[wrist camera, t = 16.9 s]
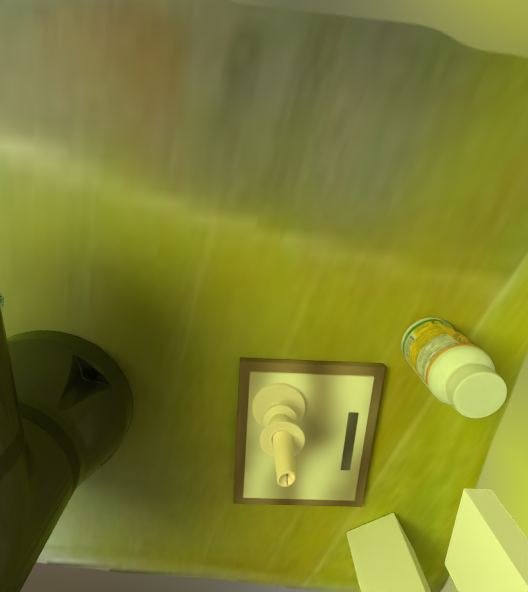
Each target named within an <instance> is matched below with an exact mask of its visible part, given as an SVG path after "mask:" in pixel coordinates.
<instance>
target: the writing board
mask: <svg viewBox="0 0 528 592" xmlns="http://www.w3.org/2000/svg"><path fill="white" fill-rule="evenodd" d="M384 373H385V366H384V364H382V363H358V362H334V361H309V360H285V359H261V358H240V373H239V395H238V418H237V440H236V462H235V485H234V503H236V504H275V505H314V506H353V507H362V503H363V497H364V491H365V485H366V480H367V474H368V468H369V462H370V456H371V450H372V444H373V438H374V432H375V426H376V420H377V414H378V408H379V402H380V396H381V391H382V385H383V379H384ZM272 383H286V384H290V385H292V386H294V387H296V388H297V389H298V390H299V391H300V392H301V394H302V396H303V397H304V401H305V413H304V416H303V418H302V419H301V421H300V422H299V423H298V424H296V425H297V426H298V427H299V428H300V429H301V430H302V432H303V433H304V437H305V443H304V446H303V449H302V450H301V451H300V452H299V453H298V454H297V455H296V456H294V458H295V470H296V479H295V481H294V483H293V484H291V485H290V486H287V487H282V486H280V485H279V484H278V483H277V475H276V468H275V459H274V458H271V457H269V456H267V455H266V454H265V453H264V452H263V450H262V449H261V446H260V436H261V433H262V432H263V430H264V429H265V428H264V427H262V426H261V425H260V424H259V423H258V422H257V421H256V420H255V418H254V416H253V413H252V402H253V399H254V396H255V395H256V393H257V392H258V391H259V390H260V389H261V388H263V387H264V386H267V385H269V384H272Z"/></svg>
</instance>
